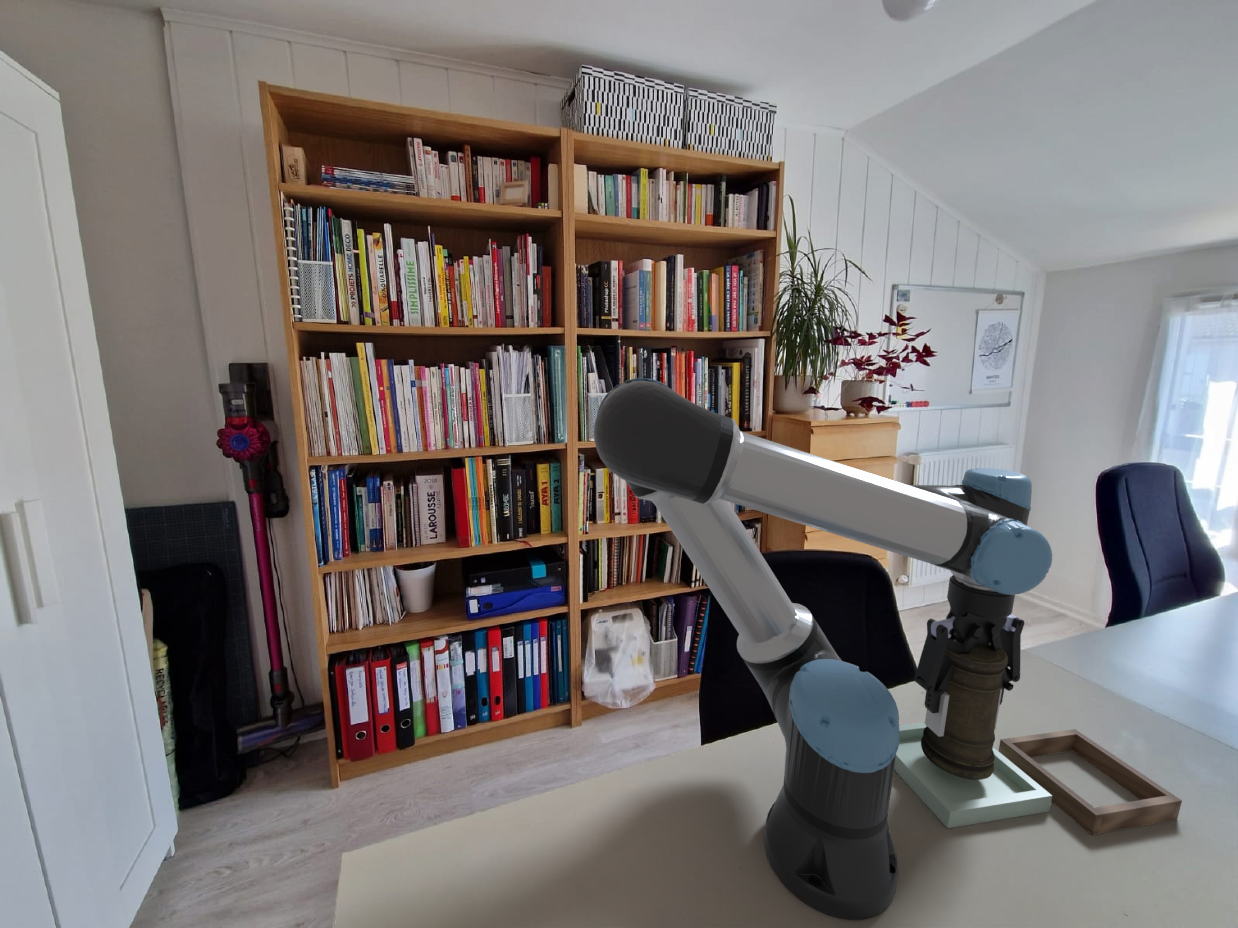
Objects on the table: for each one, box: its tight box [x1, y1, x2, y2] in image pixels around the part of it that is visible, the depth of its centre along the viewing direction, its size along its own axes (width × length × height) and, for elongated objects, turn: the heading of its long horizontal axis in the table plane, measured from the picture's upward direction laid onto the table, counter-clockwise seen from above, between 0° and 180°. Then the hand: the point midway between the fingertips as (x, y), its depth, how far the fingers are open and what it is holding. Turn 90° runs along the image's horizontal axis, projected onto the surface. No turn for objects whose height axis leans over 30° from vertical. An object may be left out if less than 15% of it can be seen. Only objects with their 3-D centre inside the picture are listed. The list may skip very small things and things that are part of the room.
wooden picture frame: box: [998, 728, 1183, 836], centre depth 75 cm, size 14×14×3 cm
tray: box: [894, 721, 1052, 829], centre depth 77 cm, size 16×16×2 cm
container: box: [921, 638, 1008, 780], centre depth 75 cm, size 9×9×18 cm
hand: (959, 726), depth 76 cm, fingers closed on container, 8 cm apart
